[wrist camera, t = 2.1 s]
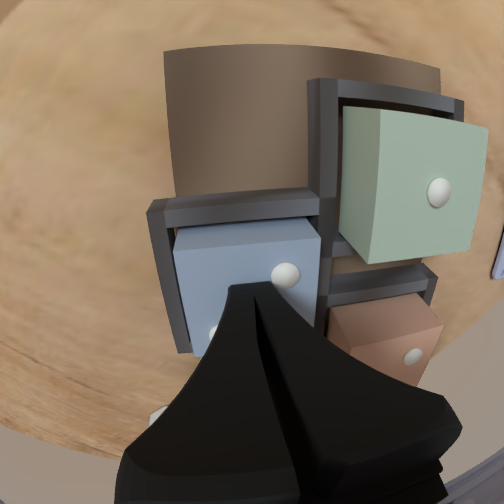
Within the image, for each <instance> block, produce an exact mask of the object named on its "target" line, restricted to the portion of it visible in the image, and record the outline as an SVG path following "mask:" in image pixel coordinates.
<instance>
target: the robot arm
mask: <svg viewBox="0 0 504 504" xmlns="http://www.w3.org/2000/svg"><path fill="white" fill-rule="evenodd" d="M492 277H493V278H494V279H495V280H498V279H501V278H504V234H503V238H502V241H501V245H500V248H499V252H498V255H497V259H496V262H495V265H494V268H493V271H492ZM461 430H462V425H461V423H460V421H459V419H458V418H457V416H456V414H455V412H454V411H453V409H452V407H451V406H450V404H449V403H448V402H447V400H446V399H445V398H444V396H442V395H439V394H436V393H432V392H429V391H426V390H423V389H420V388H417V387H414V386H411V385H409V384H406V383H404V382H402V381H399V380H397V379H395V378H392V377H390V376H388V375H386V374H384V373H382V372H380V371H377V370H375V369H374V368H372V367H370V366H368V365H366V364H365V363H363V362H361V361H359V360H357V359H356V358H354V357H352V356H351V355H349V354H348V353H346V352H345V351H343V350H342V349H340V348H339V347H337V346H336V345H335V344H333V343H332V342H331V341H329V340H328V339H327V338H326V337H324V336H323V335H322V334H321V333H319V332H318V331H317V330H316V329H315V328H314V327H312V326H311V325H310V324H309V323H308V322H307V321H306V320H305V319H304V318H303V317H302V316H301V315H300V314H299V313H298V312H297V311H296V310H295V309H294V308H293V307H292V306H291V305H290V304H289V303H288V302H287V301H286V300H285V299H284V298H283V296H282V295H281V294H280V293H279V292H278V291H277V289H276V288H275V287H274V286H273V284H272V283H271V282H269V281H264V282H255V283H245V284H235V285H230V287H229V288H228V294H227V299H226V303H225V307H224V310H223V313H222V316H221V319H220V321H219V324H218V327H217V329H216V331H215V333H214V336H213V338H212V340H211V342H210V344H209V346H208V348H207V350H206V352H205V354H204V356H203V357H202V359H201V361H200V363H199V364H198V366H197V368H196V369H195V371H194V372H193V374H192V375H191V377H190V378H189V380H188V381H187V383H186V384H185V385H184V387H183V388H182V390H181V391H180V392H179V394H178V395H177V396H176V397H175V399H174V400H173V401H172V402H171V403H170V404H169V406H168V407H167V408H166V409H165V410H164V411H163V413H162V414H161V415H160V416H159V417H158V418H157V419H156V420H155V421H154V422H153V424H152V425H151V426H149V427H148V428H147V429H146V430H145V431H144V432H143V433H142V434H141V435H140V436H139V437H138V438H137V439H136V440H135V441H134V442H132V443H131V444H130V445H129V446H128V447H127V448H126V449H125V451H124V453H123V456H122V459H121V462H120V466H119V470H118V473H117V478H116V486H115V499H114V504H504V448H502V449H500V450H499V451H498V452H496V453H495V454H493V455H492V456H490V457H489V458H487V459H486V460H484V461H483V462H481V463H480V464H478V465H477V466H475V467H473V468H472V469H470V470H468V471H467V472H465V473H464V474H462V475H460V476H458V477H456V478H455V479H453V480H451V481H449V482H448V483H446V484H443V481H442V480H441V477H440V475H439V473H441V472H442V471H443V467H442V465H441V463H440V461H439V458H440V457H441V456H442V455H443V454H444V453H445V452H446V451H447V450H448V449H449V448H450V447H451V446H452V445H453V443H454V442H455V441H456V440H457V438H458V437H459V436H460V433H461ZM0 504H5V503H4V502H3V501H1V500H0Z"/></svg>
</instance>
